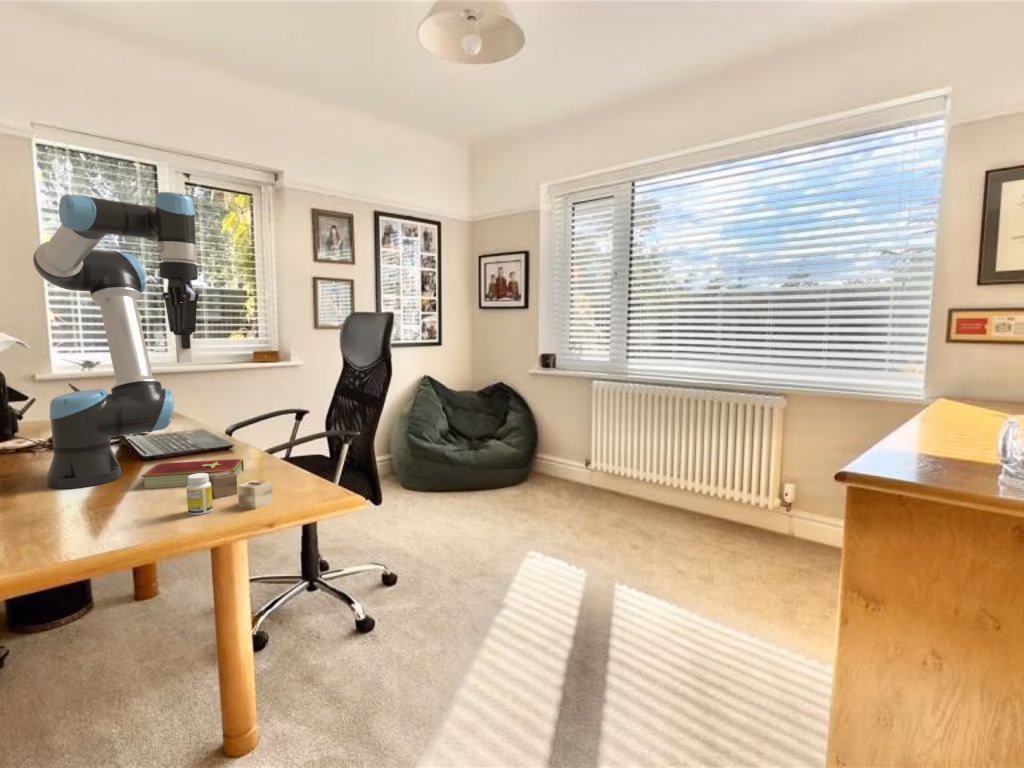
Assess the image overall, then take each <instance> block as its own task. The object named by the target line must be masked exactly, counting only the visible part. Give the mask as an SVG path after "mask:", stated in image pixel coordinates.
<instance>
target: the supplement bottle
mask: <svg viewBox="0 0 1024 768" xmlns="http://www.w3.org/2000/svg"><path fill="white" fill-rule="evenodd" d="M208 481H209V475H208V474H207V473H197V474H192V475H189V476H188V483H189V484H188V485H187V486H186V501H187V512H188V514H189V515H191V516H200V515H206V514H208V513H211V512H212V511H213V497H212V490H211V483H210V482H208Z"/></svg>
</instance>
